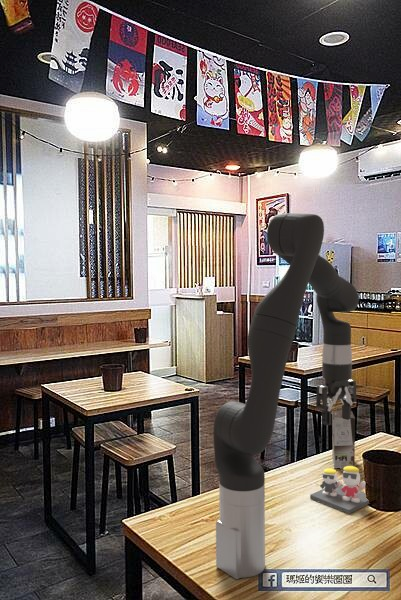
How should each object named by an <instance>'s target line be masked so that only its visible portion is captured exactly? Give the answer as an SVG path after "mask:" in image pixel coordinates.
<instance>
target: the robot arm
mask: <svg viewBox="0 0 401 600" xmlns="http://www.w3.org/2000/svg"><path fill="white" fill-rule="evenodd" d="M266 230H267V231H266V239H267V243H268V246H269V248H270V249H271V250H272V252H273V253H274V254H276V256H278V257H280V258H281V259H283V260H284V261H285V263H287V264H288V265H289V267H288V269H287V271H286V272H285V274H284V276H282V278H281V279H280V280H279V282H277V284H275V286H273V288H272V289H270V290H269V291H268V292H267V293H266V294H265V296H263V297H262V299H261V300H259V301H260V302H258V304H257V305H256V306H255V309H254V312H253V316H252V317H251V321H250V325H249V329H248V334H247V351H248V357H249V364H250V369H251V370H250V372H251V382H250V387H249V391H248V395H247V399H246V402H245V403H243V402H239V401H233V400H232V401H228V402H225V403H223V405H221V406H220V407H219V409H218V410H217V413H216V414H215V417H214V422H213V449H214V450H213V451H214V453H213V454H214V464H215V465H214V466H215V468H216V472H217V474H218V482H219V483H218V485H219V486H218V487H219V488H218V489H219V494H218V495H219V496H218V497H219V499H218V500H219V503H218V504H219V519H218V520H216V522H215V558H216V559H215V564H216V568H218V569H219V570H221V571H222V572H224V573H226V574H227V575H228V576H230V577H232V578H233V579H235V580H239V579H241V578H251V577H254V576H255V577H256V576H258V575H259V574H261V573H263V571H264V570H265V568H266V527H265V526H266V524H265V523H266V518H265V517H266V515H265V513H266V511H265V509H266V508H265V507H266V505H265V503H266V501H265V497H266V496H265V492H266V491H265V489H266V488H265V487H266V486H265V483H266V482H265V481H266V480H265V479H266V478H265V469H264V468H263V466H262V465H261V464H260V463H259V462H258V461H257V459H256V458H255V456H258V455H260V454H261V453H263V451H264V450H265V449H266V448H267V447H268V445H269V444H270V441H271V438H272V436H273V432H274V427H275V422H276V416H277V411H278V406H279V405H278V404H279V398H280V393H281V392H280V391H281V389H282V388H281V387H282V383H283V379H284V375H285V370H286V367H287V362H288V358H289V354H290V352H291V348H292V344H293V341H294V337H295V335H296V330H297V326H298V322H299V318H300V315H301V314H300V313H301V310H302V305H303V302H304V297H305V295H306V291H307V289H308V288H307V287H308V285H309V286H310V287H311V288H312V289H313V291H314V293H316V303H317V307H318V311H319V314H320V318H321V323H322V329H323V330H322V331H323V334H322V335H323V339H322V340H323V342H322V343H323V344H322V359H321V360H322V363H321V364H322V365H321V367H322V368H321V369H322V372H321V373H322V374H321V376H322V378H323V379H324V381H325V383H324V385H320V384H318V385H317V386H316V401H315V402H316V403H315V407H316V409H319V410H321V422H322V424H323V425H324V426H332V411H331V410H332V407H333V405H335V404H336V403H337V401H341V403H342V405H341V411H342V418H343V419H346V420H349V419H350V418H351V411H352V406H353V404H354V403H356V402H357V382H356V380H354V379H352V378H353V377H352V376H353V367H352V366H353V363H352V362H353V352H352V345H351V344H352V327H351V326H352V325H351V323H349V322H347V321H345V320H341V319H338V318H336V316H335V315H334V313H351V312H353V311H355V310H356V309H357V307H358V306H359V302H360V297H359V293H358V291H357V289H356V287H355V286H354V285H353V284H352V283H351V282H349V280H346V278H343V277H341V276H340V274H339V273H338V271H337V270H336V268H335V267H334V266H333V264H332V263H331V262H330V261H328V260H327V259H326V258H324V257H323V256H322V255H319V254H320V252H321V248H322V247H323V246H322V245H323V241H324V235H325V224H324V221H323V218H322V217H320V216H319V215H318V214H316V213H315V214H314V213H313V214H312V213H300V212H298V213H296V212H293V213H292V212H286V213H285V212H283V213H277V214H276V215H274V216H273V217H272V218H271V219H270V221H269V223H268V225H267V229H266ZM321 401H322V403H321Z"/></svg>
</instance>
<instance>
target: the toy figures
mask: <svg viewBox="0 0 401 600" xmlns="http://www.w3.org/2000/svg"><path fill="white" fill-rule="evenodd" d="M342 470H343V472H342V477H341V478H342V480H338V474H337V473H338V472H337V470H336V469H335V468H325V469H323V474H322V483H321V484H319V487H320V488H321V490H322V489H324V488H325V490H324V491H323V492H322V493H323V494H324V495H329V493H330V495H331V496H337V493H336V492H335V489H337V488H338V487H339V486H341V484H342V483H344V484H343V485H344V486H343V487H342V489H341V490H342V491H343V493H345V491H346V495H345V496H343V497H342V499H343V500H345V501H350V500H351V501H352V502H355V503H359V502H360V500H359V499H358V497H357V495H356V494H357V493H360V492H362V491H363V490H364V489H365V487H366V481H364V480H362V481H361V475H360V469H359V468H358V467H356V466H355V465H354V466H346V467H344V468H343V469H342ZM360 481H361V482H360ZM350 496H352V499H351V498H350Z"/></svg>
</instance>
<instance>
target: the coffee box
mask: <svg viewBox="0 0 401 600" xmlns="http://www.w3.org/2000/svg"><path fill="white" fill-rule="evenodd" d="M331 426H332V427H331V428H332V431H331V432H332V437H331V438H332V464H334V465H333V469H335V468H340V470H343V468H344V467H346V466H354V467H355V463H356V462H355V459H356V458H355V454H356V451H355V448H356V447H355V445H356V444H355V440H356V439H355V438H356V437H355V435H356V433H355V431H356V417H355V414H354V413H353V411H352V410H351V418H350V419H349V420H346V419H343V418H342V410H332V411H331Z"/></svg>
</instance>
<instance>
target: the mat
mask: <svg viewBox="0 0 401 600" xmlns="http://www.w3.org/2000/svg"><path fill="white" fill-rule="evenodd" d="M343 486H344V484H342V483H341V486H339V487H338V488H337V489H335V492H336V493H337V496H331V495H330V493H329V495H324V494H323V493H322V492H323V491H324V490H325V487H324V488H323V489H322V488H321V489H320V490H318V491H316V492H313V493H311V494H310V495H309V496H310V497H309V498H310V499H311V500H313V501H315V502H318V503H321V504H323V505H325V506H328V507H331V508H333V509H335V510H338V511H340V512H343V513H346V514H347V515H350V514H351V513H354V512H356V511H358V510H360V509H362V508H363V507H365V506H367V505H369V504H370V503H369V500H368V499H367V498H366V495H365V493H366V492H364V491H361V492H360V493H357V494H356V495H357V497H358V499H359V500H360V502H359V503H355V502H352V501H351V500H350V501H345V500H343V499H342V497H343V496H345V495H346V491H345V493H343V491H342V490H341V489H342V487H343ZM350 498H351V499H352V496H350Z"/></svg>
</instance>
